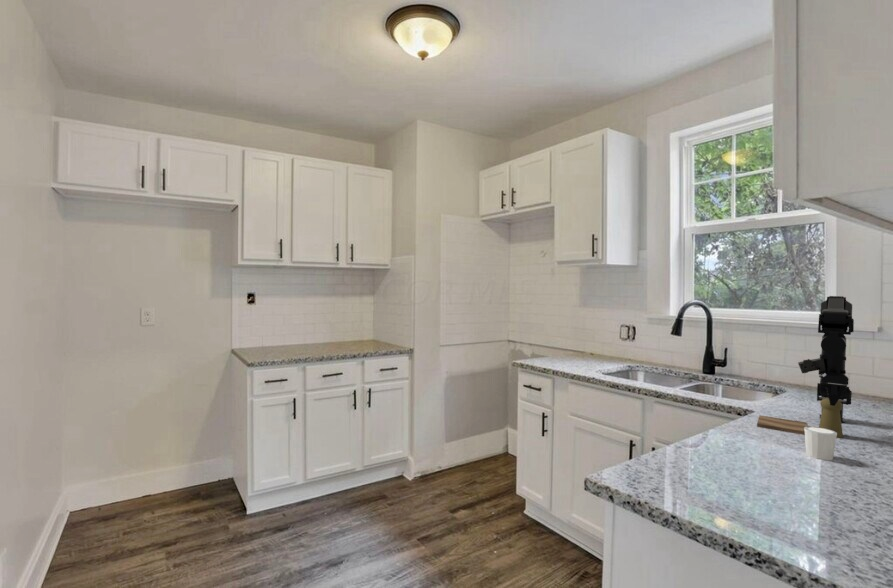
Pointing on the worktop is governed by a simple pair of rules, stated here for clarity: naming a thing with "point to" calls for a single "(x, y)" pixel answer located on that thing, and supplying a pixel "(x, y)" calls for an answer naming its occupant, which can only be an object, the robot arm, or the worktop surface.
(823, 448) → the white faceted cup
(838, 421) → the cork
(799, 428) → the walnut coaster board
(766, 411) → the worktop surface
